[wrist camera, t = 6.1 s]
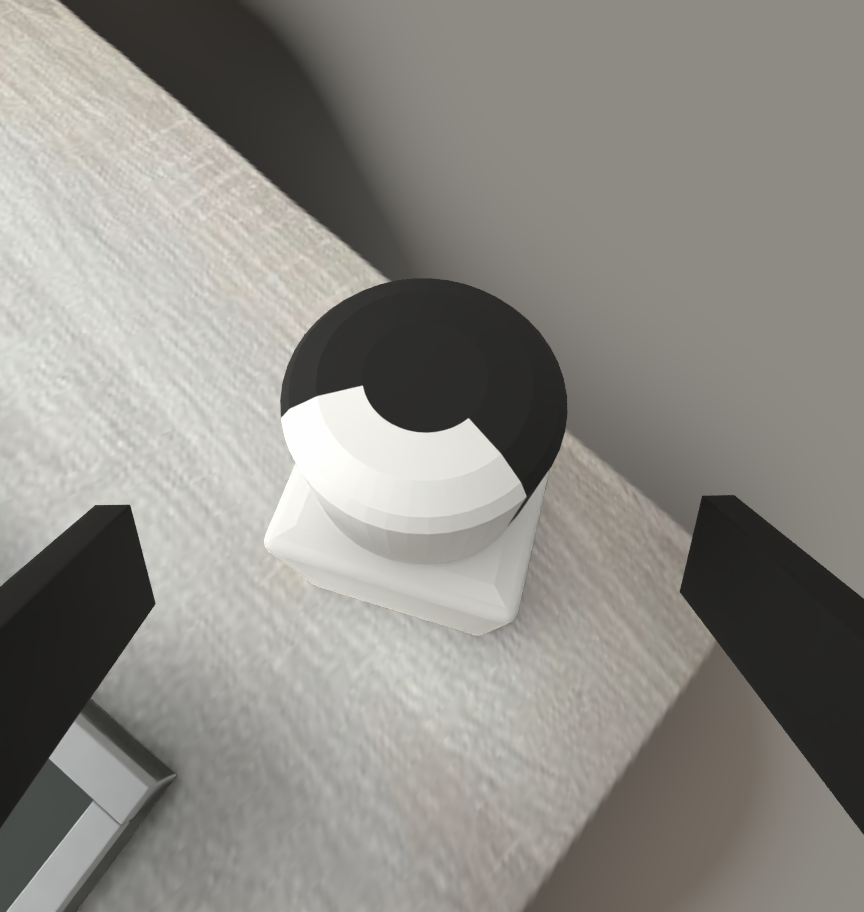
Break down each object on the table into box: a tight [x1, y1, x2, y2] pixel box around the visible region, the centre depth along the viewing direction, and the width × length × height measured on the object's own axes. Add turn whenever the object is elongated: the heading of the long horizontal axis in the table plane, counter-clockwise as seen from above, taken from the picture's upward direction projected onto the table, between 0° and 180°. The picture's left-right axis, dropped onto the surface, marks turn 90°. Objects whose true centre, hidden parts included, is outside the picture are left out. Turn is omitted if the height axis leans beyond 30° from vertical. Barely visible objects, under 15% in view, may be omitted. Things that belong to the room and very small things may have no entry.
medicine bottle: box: [264, 279, 567, 636], centre depth 16 cm, size 7×7×12 cm
